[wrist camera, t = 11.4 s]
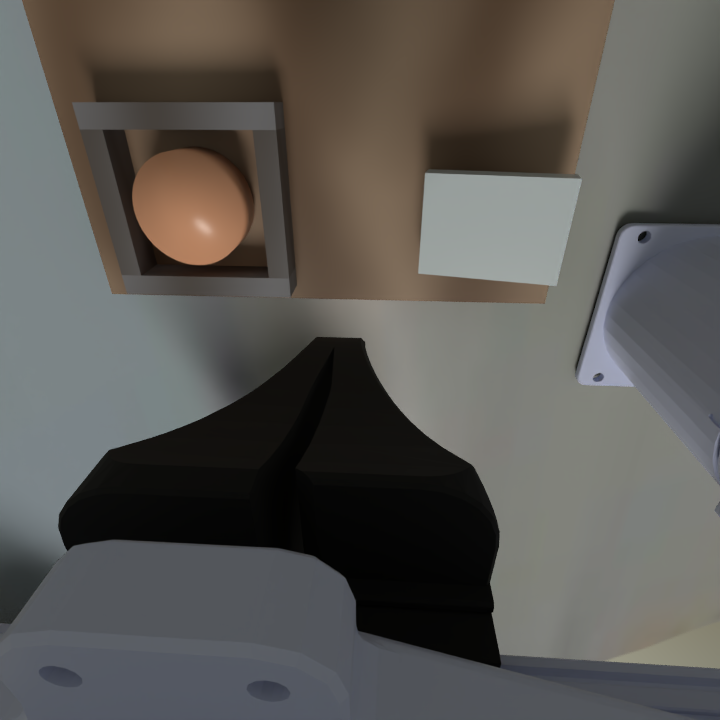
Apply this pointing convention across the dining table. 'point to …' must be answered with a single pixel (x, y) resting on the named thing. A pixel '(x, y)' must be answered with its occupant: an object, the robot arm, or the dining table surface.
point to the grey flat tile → (496, 224)
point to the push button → (193, 204)
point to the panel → (316, 126)
